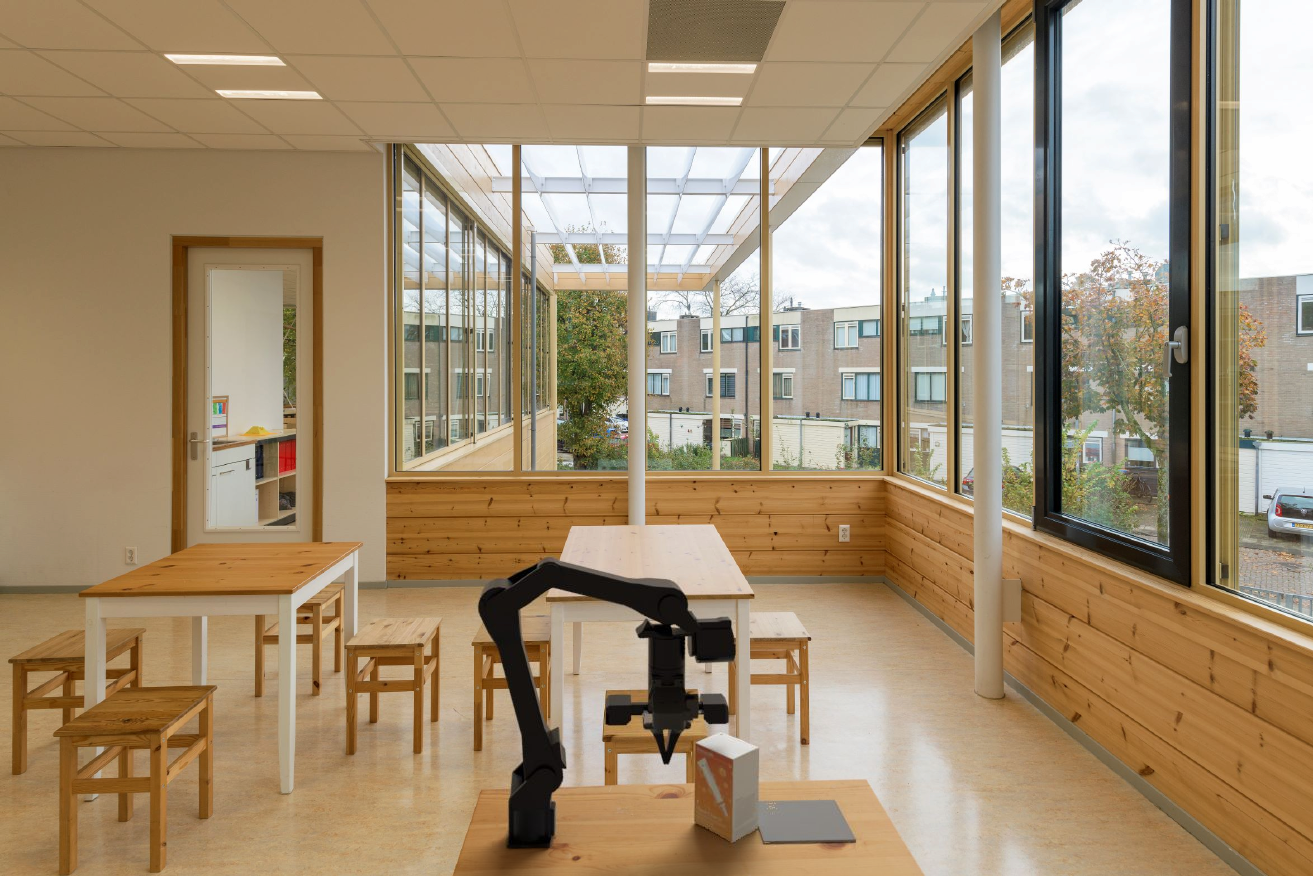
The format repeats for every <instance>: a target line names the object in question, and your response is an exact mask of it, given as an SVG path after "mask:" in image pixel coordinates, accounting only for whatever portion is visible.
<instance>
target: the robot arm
mask: <svg viewBox="0 0 1313 876" xmlns="http://www.w3.org/2000/svg"><path fill="white" fill-rule="evenodd" d="M551 589H556V590H559V591H564V592H568V593H572V594H576V595H580V596H583V597H584V596H585V597H589V598H593V599H597V600H600V601H604V602H608V603H613V604H617V605H620V606H624V607H626V608H629V609H631V610H633V611H635V612H636V613H638V614H640V615H642V616H644V617H645V619H644V620H643V621H642V623H641V624H639V626H637V627H636V628H635V634H636V636H637V637H638V639H647V642H648V643H647V650H648V651H647V701H635V702H634V701H632V694H609V695H608V696H607V697H606V698H605V710H604V711H605V719H604V721H605V723H604V724H605V725H607V726H612V727H613V726H614V727H615V726H616V727H617V726H627V725H628V724H629V723H630V722H631V721H632V716H641V718H642V728H643V730H646V731H650V732H651V733H652V737H654V740H655V742H656V744H657V747H658V748H657V749H658V751H659V754H660V757H661V760H662V763H663V765H665V766H666V765H670V763H671V761H672V756H673V754H674V751H675V749H676V745H677V742H678V740H679V739H680V737H681V735H682V733H683V732H684V731H685V730H690V729H691V728H692V721H694V720H696V719H699V716H701V715H703V717H702V718H703V720H704V721H705V722H706V723H707V724H708V725H727V724H729V723H730V709H729V708H730V707H729V704H728V702H727V699H726V697H725V696H724V695H723V693H699V694H698V693H689V692H687V690H686V641H687V654H688V657H690V658H692V657H693V658H694V659H695V662H696V664H712V663H713V664H714V663H716V664H717V663H733V662H734V661H735V658H736V651H737V648H736V647H737V644H736V642H735V636H734V635H735V634H734V629H733V628H732V627H733V626H732V622H733V621H732V619H730V618H729V616H718V617H713V618H712V617H711V618H697V616H695V614H694V612H693V611H692V610H689V602H688V600H689V599H688V597H687V596H686V594H685V592H684V591H683V590H682V589H681V587H680V586H679V584H677V583H676V582H675V581H674V580H671V579H669V578H655V577H639V578H637V577H636V578H635V577H625V576H622V575H618V574H614V573H610V572H606V571H602V570H598V569H594V568H590V567H588V566H582V565H578V564H575V563H572V562H571V563H570V562H566V561H563V560H560V559H557V558H555V557H553V556H546V557H543V558H542V559H540V560H539V561H538V562H536V563H534V564H532V565H530V566H528V567H526V568H524V569H521V570H519V571H517V572H515V573H513V574H511V575H510V576H508V577H506V578H502V577H501V578H499V577H498V578H493V579H491V580H489V582H487V583H486V584H485V585H484V586H483V589H482V591H481V593H480V597H479V599H478V603H477V609H478V611H477V612H478V614H479V617H480V619H481V620H482V624H483V625H484V627H485V630H486V631H487V634H488V635H489V636H490V638H491V640H492V641H493V644H494V645H495V646H496V648H497V651H498V655H499V658H500V662H501V664H502V669H503V673H504V677H505V680H506V684H507V687H508V690H509V691H508V692H509V695H510V698H511V702H512V706H513V710H514V713H515V717H516V720H517V724H518V729H519V732H520V736H521V737H520V738H521V751H522V752H521V753H522V761H521V762H520V763H519V764H518V766H516V767H515V768H514V770H512V772H511V781H510V793H509V797H508V805H507V806H508V808H507V809H508V813H507V814H508V815H507V816H508V817H507V819H508V825H507V826H508V831H507V832H508V835H507V839H506V842H505V843H506V845H505V846H506V847H505V848H508V849H509V848H510V849H511V848H513V849H514V848H515V849H517V848H549V847H550V846H551V844H552V839H553V838H552V837H555V835H556V828H557V803H556V801H555V800H554V801H553V793H555V792H556V791H557V790H559V788H560V787H561V786H562V783H563V781H564V770H566V769H567V753H566V748H565V746H564V745H563V743H562V741H561V734H560V727H559V726H556V727H554V728H553V729H550V727H549V725H548V723H547V722H546V720H545V716H544V713H543V710H542V705H541V703H540V702H541V701H540V698H539V694H538V690H537V687H536V683H535V679H534V675H533V672H532V669H531V663H530V660H529V657H528V656H529V655H528V653H527V650H526V646H525V642H524V641H525V640H524V638H523V632H522V631H523V628H522V615H521V614H522V611H521V610H522V609H524V608H525V607H526V606H529V604H531V603H532V602H533V601H534V602H535V600H536V599H538V598H539V597H541V596H542V595H543V594H544V593H546V592H548V591H550V590H551ZM649 619H650V620H652V621H655V622H657V623H653V622H651V621H650V620H649ZM674 625H675V626H677V627H672V626H674ZM686 639H687V640H686ZM664 730H665V731H666V730H667V738H666V742H665V735H664Z"/></svg>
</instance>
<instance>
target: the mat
mask: <svg viewBox="0 0 1313 876" xmlns="http://www.w3.org/2000/svg"><path fill="white" fill-rule="evenodd" d="M767 803H768V804H767ZM769 803H773V804H769ZM774 803H776V804H774ZM773 805H774V806H773ZM769 806H772V807H775V808H773V809H772V807H770V808H771V809H770V808H769ZM767 808H768V809H767ZM776 808H777V809H776ZM772 813H773V814H772ZM758 826H759V827H758V829H760V830H759V833H760V832H761V833H760V836H761V835H762V837H761V839H763V840H762V842H779V843H778V844H782V843H781V842H784V843H785V844H787V843H789V844H790V843H793V844H795V843H798V844H799V843H839V842H840V843H844V842H847V843H849V842H850V843H851V842H857V838H856V836H855V835H854V833H853V830H852V829H851V827H850V826H849V824H848V822H847V819H846V818H845V816H844V815H843V813H842V811H841V809H840V807H839V805H838V804H837V801H836V800H835V799H809V800H808V799H806V800H804V799H803V800H801V799H800V800H798V799H797V800H758ZM784 843H783V844H784Z"/></svg>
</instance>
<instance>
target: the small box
mask: <svg viewBox="0 0 1313 876" xmlns="http://www.w3.org/2000/svg"><path fill="white" fill-rule="evenodd" d="M694 747H695V749H694V750H695V751H694V752H695V754H694V756H695V757H694V811H693V812H694V813H693V815H694V816H693V817H694V820H693V822H694V823H695V824H696V823H697V824H696V825H699V826H701V827H703V828H704V827H705V828H704V829H707V830H708V829H709V830H708V831H710V832H712V831H713V832H712V833H714V832H715V833H716V835H717V834H718V835H717V836H719V835H720V836H719V837H721V836H722V837H721V838H722V839H724V838H725V840H726V841H728V842H729V841H730V842H729V843H731V844H733V842H734V843H736V842H737V841H739V840H740V839H742V838H744V837H746V836H747V835H746V834H748V833H749V834H750V832H751V833H753V832H754V831H756V830H758V829H759V827H758V801H759V795H760V794H759V793H760V792H759V790H760V789H759V787H760V783H759V782H760V781H759V780H760V747H758V746H757V745H754V744H752V743H749V742H747V741H745V740H743V739H741V738H738V737H735V736H732V735H730V734H727V733H724V732H723V731H720V732H717V733H715V734H713V735H710V736H708V737H705V738H703V739H700V740H698V741H696V742H695V746H694ZM757 828H758V829H757ZM755 829H756V830H755ZM753 830H754V831H753ZM752 831H753V832H752ZM715 833H714V834H715ZM749 834H748V835H749ZM745 835H746V836H745ZM743 836H744V837H743ZM741 837H742V838H741ZM738 839H739V840H738ZM736 840H737V841H736Z"/></svg>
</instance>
